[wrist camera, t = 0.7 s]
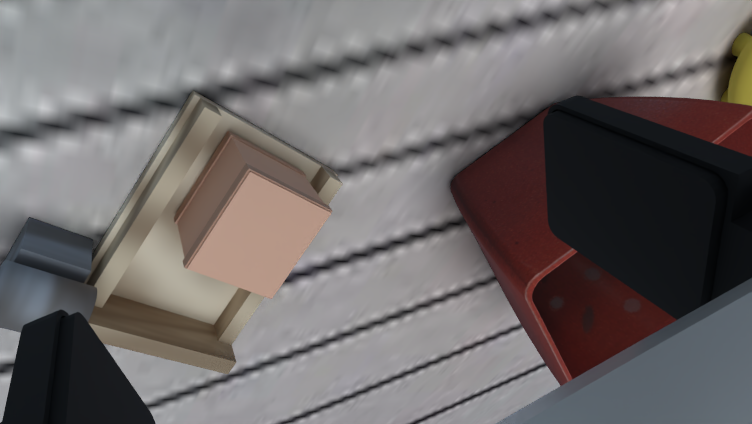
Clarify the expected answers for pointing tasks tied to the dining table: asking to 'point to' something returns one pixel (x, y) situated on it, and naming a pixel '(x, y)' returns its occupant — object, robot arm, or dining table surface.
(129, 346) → the bay
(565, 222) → the robot arm
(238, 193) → the pink-tan cube
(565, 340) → the plant pot
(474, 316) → the dining table surface
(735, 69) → the teapot
